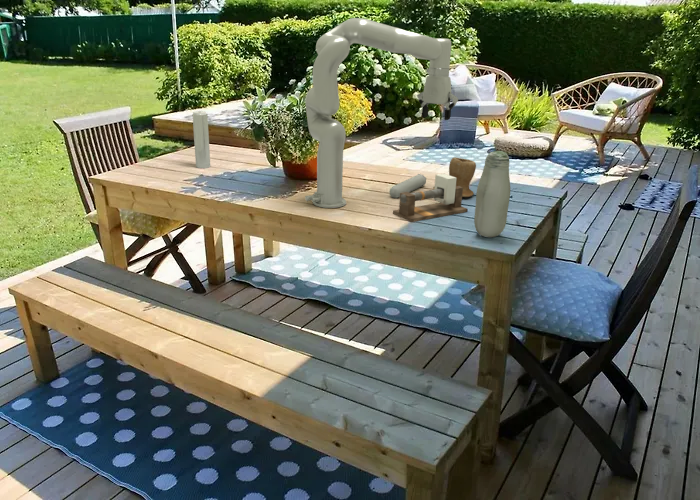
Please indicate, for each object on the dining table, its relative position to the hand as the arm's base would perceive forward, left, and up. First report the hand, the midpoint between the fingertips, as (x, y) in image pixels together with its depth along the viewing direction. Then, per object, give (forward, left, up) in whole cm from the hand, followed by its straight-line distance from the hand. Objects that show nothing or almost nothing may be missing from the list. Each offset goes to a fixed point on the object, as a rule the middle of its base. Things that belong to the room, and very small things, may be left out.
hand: (435, 118), depth 237 cm
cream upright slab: (-11, -21, -27) cm, 36 cm away
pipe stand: (-17, -21, -30) cm, 40 cm away
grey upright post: (-66, +84, -30) cm, 111 cm away
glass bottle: (-16, -50, -30) cm, 61 cm away
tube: (-7, +6, -31) cm, 32 cm away
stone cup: (+8, -6, -30) cm, 32 cm away
